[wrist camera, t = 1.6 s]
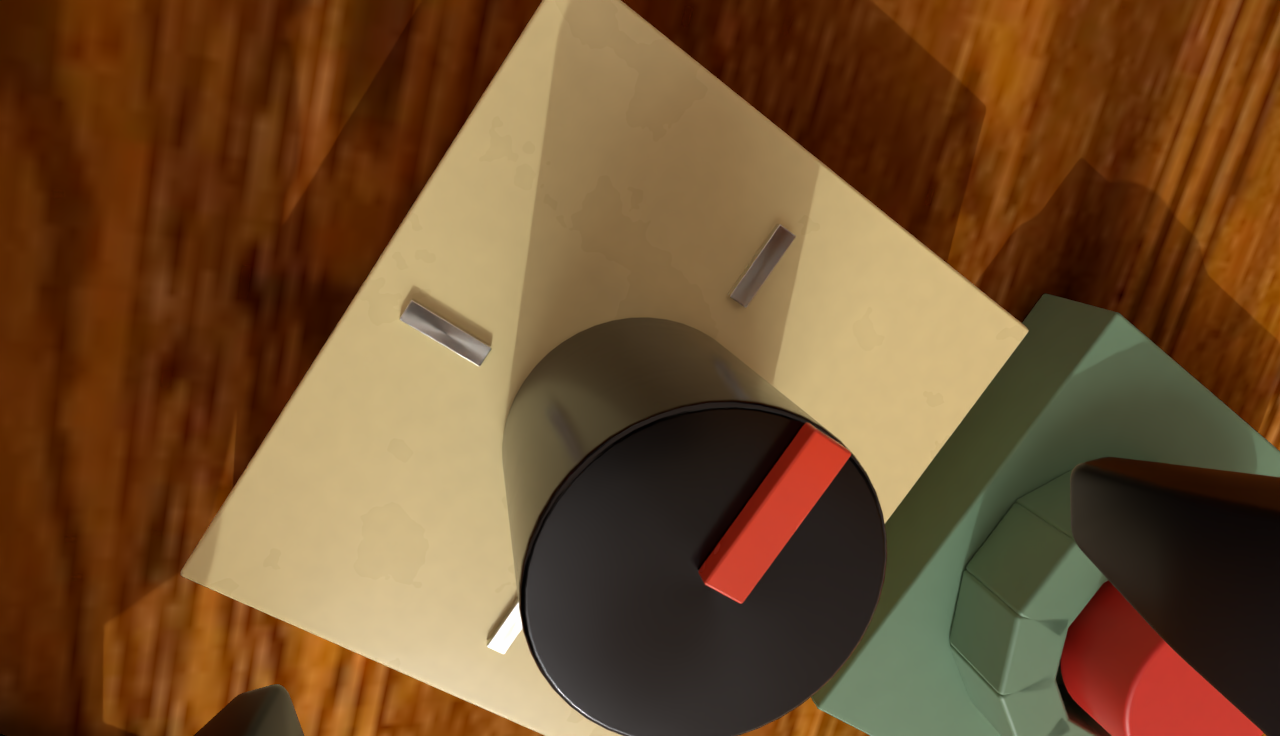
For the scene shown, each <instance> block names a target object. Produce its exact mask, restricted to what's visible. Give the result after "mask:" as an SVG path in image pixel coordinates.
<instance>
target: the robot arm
mask: <svg viewBox="0 0 1280 736" xmlns="http://www.w3.org/2000/svg"><path fill="white" fill-rule="evenodd" d="M1070 512H1071V531H1072V535H1073V537H1074V540H1075V542H1076V544H1077V545H1078V547H1079V548H1080V550H1081V551H1082V552H1083V553H1084V554H1085V555H1086V556H1087V557H1088V558H1089V560H1090V561H1091V562H1092V563H1093V564H1094V565H1095V566H1096V567H1097V568H1098V569H1099V570H1100V572H1101V573H1102V574H1103V575H1104V576H1105V577H1106V578H1107V579H1108V580H1109V581H1110V582H1111V584H1112V585H1113V586H1114V587H1115V588H1116V589H1117V590H1118V591H1119V592H1120V593H1121V594H1122V596H1123V597H1124V598H1125V599H1126V600H1127V601H1128V602H1129V603H1130V604H1131V605H1132V606H1133V608H1134V609H1135V610H1136V611H1137V612H1138V613H1139V614H1140V615H1141V616H1142V617H1143V618H1144V620H1145V621H1146V622H1147V623H1148V624H1149V625H1150V626H1151V627H1152V628H1153V629H1154V630H1155V631H1156V633H1157V634H1158V635H1159V636H1160V637H1161V638H1162V639H1163V640H1164V641H1165V642H1166V643H1167V644H1168V645H1169V646H1170V647H1171V648H1172V649H1173V650H1174V651H1175V652H1176V653H1177V654H1178V655H1179V656H1180V657H1181V658H1182V659H1183V660H1185V661H1186V662H1187V663H1188V664H1189V665H1190V666H1191V667H1192V668H1193V669H1194V670H1195V671H1196V672H1198V673H1199V674H1200V675H1201V676H1202V677H1203V678H1204V679H1205V680H1206V681H1207V682H1208V683H1210V684H1211V685H1212V686H1213V687H1214V688H1215V689H1216V690H1217V691H1218V692H1219V693H1221V694H1222V695H1223V696H1224V697H1225V698H1226V699H1227V700H1228V701H1229V702H1230V703H1232V704H1233V705H1234V706H1235V707H1236V708H1237V709H1238V710H1239V711H1240V712H1241V713H1242V714H1244V715H1245V716H1246V717H1247V718H1248V719H1249V720H1250V721H1251V722H1252V723H1253V724H1255V725H1256V726H1257V727H1258V728H1259V729H1260V730H1261V731H1262V732H1263V733H1264V734H1265V735H1267V736H1280V477H1274V476H1266V475H1258V474H1250V473H1241V472H1233V471H1225V470H1217V469H1209V468H1201V467H1192V466H1184V465H1176V464H1168V463H1160V462H1152V461H1144V460H1135V459H1127V458H1119V457H1102V458H1098V459H1094V460H1091V461H1087V462H1084V463H1080V464H1078V465H1076V466H1075V467H1074V469H1073V470H1072V472H1071V475H1070ZM0 736H5V735H3V734H0ZM194 736H304V734H303V731H302V728H301V725H300V723H299V720H298V717H297V714H296V712H295V709H294V706H293V704H292V701H291V698H290V696H289V693H288V692H287V690H286V689H285V688H284V687H283V686H281V685H279V684H275V685H270V686H266V687H263V688H259V689H255V690H252V691H248V692H245V693H242V694H240V695H238V696H237V697H235V698H234V699H233V700H232V701H231V702H230V703H229V704H228V705H227V706H225V707H224V708H223V709H222V710H221V711H220V712H219V713H218V714H217V715H216V716H215V717H213V718H212V719H211V720H210V721H209V722H208V723H207V724H206V725H205V726H204V727H203V728H201V729H200V730H199V731H198V732H197V733H196V734H195V735H194Z"/></svg>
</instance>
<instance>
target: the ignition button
mask: <svg viewBox="0 0 1280 736" xmlns="http://www.w3.org/2000/svg"><path fill="white" fill-rule="evenodd" d="M1060 666H1061V674H1062V678H1063V681H1064V684H1065V686H1066V689H1067V691H1068V693H1069V694H1070V696H1071V697H1072V699H1073V700H1074V701H1075V702H1076V703H1077V704H1078V705H1079V706H1080V707H1081V708H1082V709H1083V710H1084V711H1085V712H1087V713H1088V714H1089V715H1090V716H1091V717H1092V718H1093V719H1094V720H1095V721H1096V722H1097V723H1098V724H1100V725H1101V726H1102V727H1103V728H1104V729H1105V730H1106V731H1107V732H1108V733H1109V734H1110V735H1111V736H1261V735H1262V734H1263V732H1262V731H1261V730H1260V729H1259V728H1258V727H1257V726H1256V725H1255V724H1253V723H1252V722H1251V721H1250V720H1249V719H1248V718H1247V717H1246V716H1245V715H1244V714H1242V713H1241V712H1240V711H1239V710H1238V709H1237V708H1236V707H1235V706H1234V705H1233V704H1232V703H1230V702H1229V701H1228V700H1227V699H1226V698H1225V697H1224V696H1223V695H1222V694H1221V693H1219V692H1218V691H1217V690H1216V689H1215V688H1214V687H1213V686H1212V685H1211V684H1210V683H1208V682H1207V681H1206V680H1205V679H1204V678H1203V677H1202V676H1201V675H1200V674H1199V673H1198V672H1196V671H1195V670H1194V669H1193V668H1192V667H1191V666H1190V665H1189V664H1188V663H1187V662H1186V661H1185V660H1183V659H1182V658H1181V657H1180V656H1179V655H1178V654H1177V653H1176V652H1175V651H1174V650H1173V649H1172V648H1171V647H1170V646H1169V645H1168V644H1167V643H1166V642H1165V641H1164V640H1163V639H1162V638H1161V637H1160V636H1159V635H1158V634H1157V633H1156V631H1155V630H1154V629H1153V628H1152V627H1151V626H1150V625H1149V624H1148V623H1147V622H1146V621H1145V620H1144V618H1143V617H1142V616H1141V615H1140V614H1139V613H1138V612H1137V611H1136V610H1135V609H1134V608H1133V606H1132V605H1131V604H1130V603H1129V602H1128V601H1127V600H1126V599H1125V598H1124V597H1123V596H1122V594H1121V593H1120V592H1119V591H1118V590H1117V589H1116V588H1115V587H1114V586H1113V585H1112V584H1111V582H1110V581H1109V580H1108V581H1106V582H1105V583H1103V585H1102V586H1101V587H1100V588H1099V590H1098V591H1097V592H1096V593H1095V595H1094V596H1093V597H1092V598H1091V600H1090V601H1089V602H1088V604H1087V605H1086V606H1085V607H1084V609H1083V610H1082V611H1081V612H1080V614H1079V615H1078V616H1077V617H1076V619H1075V620H1074V621H1073V622H1072V624H1071V625H1070V626H1069V628H1068V631H1067V635H1066V639H1065V643H1064V647H1063V651H1062V655H1061V659H1060Z"/></svg>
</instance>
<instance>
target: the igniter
mask: <svg viewBox="0 0 1280 736" xmlns="http://www.w3.org/2000/svg"><path fill="white" fill-rule="evenodd" d="M1022 324H1023V325H1025V326H1026V327H1027V328H1028V330H1029V331H1028V333H1027V334H1026V336H1025V337H1024V338H1023V340H1022V341H1021V342H1020V344H1019V345H1018V346H1017V348H1016V349H1015V350H1014V352H1013V353H1012V354H1011V356H1010V357H1009V358H1008V360H1007V361H1006V362H1005V364H1004V365H1003V366H1002V368H1001V369H1000V371H999V372H998V373H997V375H996V376H995V377H994V379H993V380H992V381H991V383H990V384H989V385H988V387H987V388H986V389H985V391H984V392H983V393H982V395H981V396H980V397H979V399H978V400H977V401H976V403H975V404H974V405H973V407H972V408H971V409H970V411H969V412H968V413H967V415H966V416H965V417H964V419H963V420H962V421H961V423H960V424H959V425H958V427H957V428H956V429H955V431H954V432H953V433H952V435H951V436H950V437H949V439H948V440H947V441H946V443H945V444H944V445H943V447H942V448H941V449H940V451H939V452H938V453H937V455H936V456H935V458H934V459H933V460H932V462H931V463H930V464H929V466H928V467H927V468H926V470H925V471H924V472H923V474H922V475H921V476H920V478H919V479H918V480H917V482H916V483H915V484H914V486H913V487H912V488H911V490H910V491H909V492H908V494H907V495H906V496H905V498H904V499H903V500H902V502H901V503H900V504H899V506H898V507H897V508H896V510H895V511H894V512H893V514H892V515H891V516H890V518H889V519H888V520H887V522H886V523H885V530H886V536H887V562H886V571H885V579H884V583H883V587H882V591H881V595H880V599H879V602H878V605H877V608H876V610H875V613H874V615H873V618H872V621H871V622H870V624H869V626H868V628H867V630H866V632H865V634H864V636H863V638H862V640H861V641H860V643H859V644H858V646H857V647H856V649H855V650H854V652H853V653H852V655H851V656H850V658H849V659H848V660H847V661H846V663H845V664H844V665H843V666H842V667H841V668H840V670H839V671H838V672H837V673H836V674H835V676H834V677H833V678H832V679H830V680H829V681H828V682H827V683H826V684H825V685H824V686H823V687H822V688H821V689H820V690H819V691H818V692H817V693H815V694H814V695H813V696H812V697H811V698H812V700H813V701H814V703H815V704H816V706H817V708H818V709H820V710H822V711H824V712H826V713H828V714H830V715H832V716H834V717H836V718H837V719H839V720H841V721H843V722H845V723H847V724H849V725H851V726H853V727H855V728H857V729H859V730H861V731H863V732H865V733H867V734H868V735H870V736H1111V735H1110V734H1109V733H1108V732H1107V731H1106V730H1105V729H1104V728H1103V727H1102V726H1101V725H1100V724H1098V723H1097V722H1096V721H1095V720H1094V719H1093V718H1092V717H1091V716H1090V715H1089V714H1088V713H1087V712H1085V711H1084V710H1083V709H1082V708H1081V707H1080V706H1079V705H1078V704H1077V703H1076V702H1075V701H1074V700H1073V699H1072V697H1071V696H1070V694H1069V693H1068V691H1067V689H1066V686H1065V684H1064V681H1063V678H1062V674H1061V666H1060V659H1061V655H1062V651H1063V647H1064V643H1065V639H1066V635H1067V631H1068V628H1069V626H1070V625H1071V624H1072V622H1073V621H1074V620H1075V619H1076V617H1077V616H1078V615H1079V614H1080V612H1081V611H1082V610H1083V609H1084V607H1085V606H1086V605H1087V604H1088V602H1089V601H1090V600H1091V598H1092V597H1093V596H1094V595H1095V593H1096V592H1097V591H1098V590H1099V588H1100V587H1101V586H1102V585H1103V583H1105V582H1106V581H1108V579H1107V578H1106V577H1105V576H1104V575H1103V574H1102V573H1101V572H1100V570H1099V569H1098V568H1097V567H1096V566H1095V565H1094V564H1093V563H1092V562H1091V561H1090V560H1089V558H1088V557H1087V556H1086V555H1085V554H1084V553H1083V552H1082V551H1081V550H1080V548H1079V547H1078V545H1077V544H1076V542H1075V540H1074V537H1073V535H1072V531H1071V512H1070V475H1071V472H1072V470H1073V469H1074V467H1075V466H1076V465H1078V464H1080V463H1084V462H1087V461H1091V460H1094V459H1098V458H1102V457H1119V458H1127V459H1135V460H1144V461H1152V462H1160V463H1168V464H1176V465H1184V466H1192V467H1201V468H1209V469H1217V470H1225V471H1233V472H1241V473H1250V474H1258V475H1266V476H1274V477H1280V451H1279V450H1278V449H1277V448H1275V447H1274V446H1273V445H1272V444H1271V443H1270V442H1268V441H1267V440H1266V439H1265V438H1264V437H1263V436H1261V435H1260V434H1259V433H1258V432H1257V431H1256V430H1254V429H1253V428H1252V427H1251V426H1250V425H1249V424H1248V423H1246V422H1245V421H1244V420H1243V419H1242V418H1241V417H1239V416H1238V415H1237V414H1236V413H1235V412H1234V411H1232V410H1231V409H1230V408H1229V407H1228V406H1227V405H1225V404H1224V403H1223V402H1222V401H1221V400H1220V399H1218V398H1217V397H1216V396H1215V395H1214V394H1213V393H1212V392H1210V391H1209V390H1208V389H1207V388H1206V387H1205V386H1203V385H1202V384H1201V383H1200V382H1199V381H1198V380H1196V379H1195V378H1194V377H1193V376H1192V375H1191V374H1189V373H1188V372H1187V371H1186V370H1185V369H1184V368H1182V367H1181V366H1180V365H1179V364H1178V363H1177V362H1176V361H1174V360H1173V359H1172V358H1171V357H1170V356H1169V355H1167V354H1166V353H1165V352H1164V351H1163V350H1162V349H1160V348H1159V347H1158V346H1157V345H1156V344H1155V343H1153V342H1152V341H1151V340H1150V339H1149V338H1148V337H1146V336H1145V335H1144V334H1143V333H1142V332H1141V331H1140V330H1138V329H1137V328H1136V327H1135V326H1134V325H1133V324H1131V323H1130V322H1129V321H1128V320H1127V319H1126V318H1124V317H1123V316H1122V315H1121V314H1120V313H1118V312H1114V311H1111V310H1107V309H1103V308H1099V307H1096V306H1092V305H1088V304H1084V303H1080V302H1077V301H1073V300H1069V299H1065V298H1062V297H1058V296H1054V295H1050V294H1043V295H1042V297H1041V298H1040V299H1039V301H1038V302H1037V303H1036V305H1035V306H1034V307H1033V309H1032V310H1031V311H1030V313H1029V314H1028V315H1027V317H1026V318H1025V319H1024V321H1023V322H1022Z"/></svg>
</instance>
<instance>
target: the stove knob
mask: <svg viewBox="0 0 1280 736" xmlns="http://www.w3.org/2000/svg"><path fill="white" fill-rule="evenodd" d="M502 461H503V471H504V480H505V489H506V498H507V506H508V515H509V524H510V533H511V541H512V550H513V559H514V568H515V576H516V585H517V594H518V603H519V611H520V617H521V622H522V628H523V633H524V636H525V639H526V642H527V645H528V648H529V651H530V653H531V655H532V657H533V659H534V661H535V663H536V665H537V667H538V669H539V671H540V672H541V674H542V675H543V676H544V678H545V679H546V681H547V682H548V683H549V685H550V686H551V687H552V689H553V690H554V691H555V692H556V693H557V694H558V695H559V696H560V697H561V698H562V699H563V700H564V701H565V702H566V703H567V704H568V705H569V706H570V707H572V708H573V709H574V710H576V711H577V712H578V713H580V714H581V715H582V716H584V717H585V718H587V719H588V720H590V721H592V722H594V723H595V724H597V725H599V726H601V727H603V728H605V729H606V730H609V731H612V732H614V733H617V734H620V735H622V736H738V735H741V734H744V733H747V732H749V731H752V730H755V729H758V728H760V727H762V726H764V725H766V724H768V723H771V722H773V721H775V720H777V719H779V718H781V717H782V716H784V715H785V714H787V713H789V712H790V711H792V710H794V709H795V708H797V707H798V706H800V705H801V704H802V703H804V702H805V701H806V700H808V699H809V698H810V697H812V696H813V695H814V694H815V693H817V692H818V691H819V690H820V689H821V688H822V687H823V686H824V685H825V684H826V683H827V682H828V681H829V680H830V679H832V678H833V677H834V676H835V674H836V673H837V672H838V671H839V670H840V668H841V667H842V666H843V665H844V664H845V663H846V661H847V660H848V659H849V658H850V656H851V655H852V653H853V652H854V650H855V649H856V647H857V646H858V644H859V643H860V641H861V640H862V638H863V636H864V634H865V632H866V630H867V628H868V626H869V624H870V622H871V621H872V618H873V615H874V613H875V610H876V608H877V605H878V602H879V599H880V595H881V591H882V587H883V583H884V579H885V571H886V562H887V536H886V530H885V523H884V517H883V512H882V509H881V506H880V502H879V499H878V496H877V493H876V491H875V489H874V486H873V484H872V482H871V480H870V478H869V476H868V474H867V472H866V471H865V470H864V468H863V467H862V465H861V464H860V462H859V461H858V459H857V458H856V457H855V455H854V454H853V453H852V452H851V451H850V450H849V449H848V448H847V447H846V446H845V445H844V444H843V443H842V441H841V440H839V439H838V438H837V437H836V436H834V435H833V434H832V433H831V432H830V431H828V430H827V429H826V428H825V427H823V426H822V425H821V424H820V423H818V422H817V421H816V420H815V419H813V418H812V417H811V416H810V415H808V414H807V413H806V412H805V411H803V410H802V409H801V408H800V407H798V406H797V405H796V404H795V403H793V402H792V401H791V400H790V399H788V398H787V397H786V396H785V395H783V394H782V393H781V392H780V391H778V390H777V389H776V388H775V387H773V386H772V385H771V384H770V383H768V382H767V381H766V380H765V379H763V378H762V377H761V376H760V375H758V374H757V373H756V372H755V371H753V370H752V369H751V368H750V367H748V366H747V365H746V364H745V363H743V362H742V361H741V360H740V359H738V358H737V357H736V356H735V355H734V354H732V353H731V352H730V351H729V350H727V349H726V348H725V347H723V346H722V345H721V344H720V343H718V342H717V341H716V340H715V339H713V338H712V337H710V336H708V335H706V334H705V333H703V332H701V331H699V330H697V329H695V328H693V327H690V326H688V325H685V324H682V323H679V322H675V321H671V320H667V319H658V318H650V317H643V318H626V319H619V320H613V321H609V322H606V323H602V324H599V325H595V326H593V327H591V328H588V329H586V330H584V331H581V332H579V333H577V334H575V335H574V336H572V337H570V338H569V339H567V340H565V341H564V342H562V343H561V344H560V345H558V346H557V347H556V348H554V349H553V350H552V351H550V352H549V353H548V354H547V355H546V356H545V357H544V358H543V359H542V360H541V361H540V362H539V363H538V364H537V365H536V366H535V367H534V369H533V370H532V371H531V372H530V374H529V375H528V376H527V378H526V379H525V380H524V382H523V384H522V385H521V387H520V389H519V391H518V392H517V394H516V396H515V398H514V400H513V403H512V405H511V408H510V410H509V413H508V416H507V420H506V424H505V428H504V435H503V443H502Z"/></svg>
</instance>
